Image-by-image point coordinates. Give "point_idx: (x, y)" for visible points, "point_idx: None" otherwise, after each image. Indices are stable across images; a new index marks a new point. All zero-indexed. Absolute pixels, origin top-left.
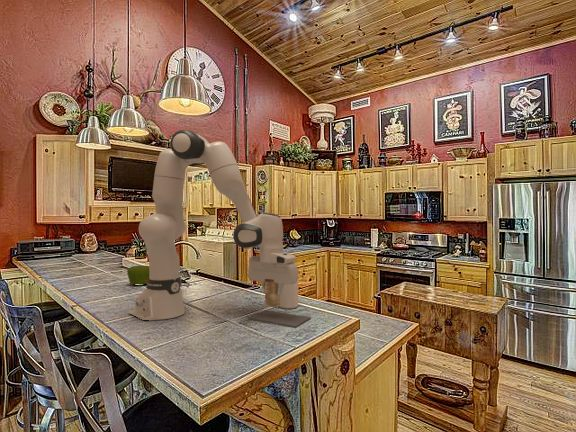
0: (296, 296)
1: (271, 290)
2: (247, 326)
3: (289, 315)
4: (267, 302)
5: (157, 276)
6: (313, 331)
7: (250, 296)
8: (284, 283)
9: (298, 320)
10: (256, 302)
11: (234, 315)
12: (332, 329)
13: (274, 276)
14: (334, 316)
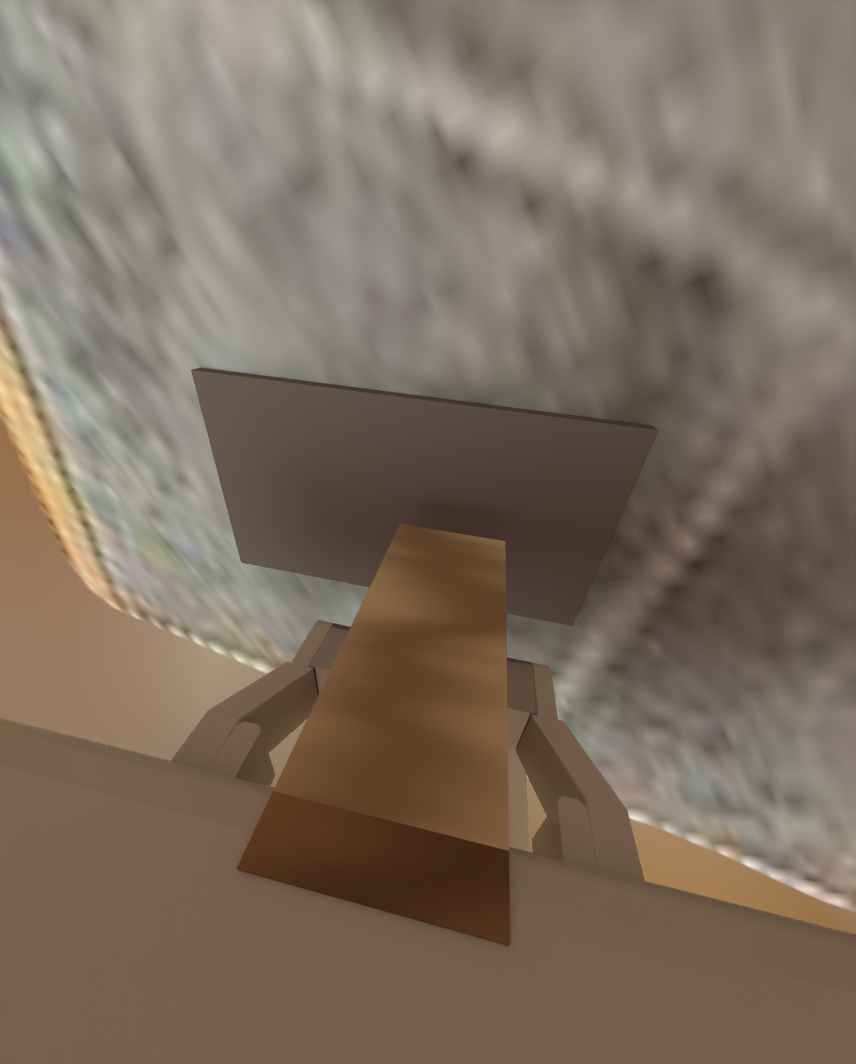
0: None
1: (384, 659)
2: (584, 207)
3: (363, 563)
4: (475, 559)
5: None
6: (76, 350)
7: (773, 821)
8: (59, 739)
9: (258, 491)
10: (698, 746)
11: (834, 482)
12: (42, 432)
13: (161, 990)
14: (188, 614)
